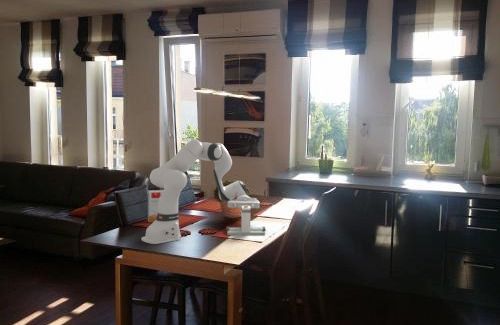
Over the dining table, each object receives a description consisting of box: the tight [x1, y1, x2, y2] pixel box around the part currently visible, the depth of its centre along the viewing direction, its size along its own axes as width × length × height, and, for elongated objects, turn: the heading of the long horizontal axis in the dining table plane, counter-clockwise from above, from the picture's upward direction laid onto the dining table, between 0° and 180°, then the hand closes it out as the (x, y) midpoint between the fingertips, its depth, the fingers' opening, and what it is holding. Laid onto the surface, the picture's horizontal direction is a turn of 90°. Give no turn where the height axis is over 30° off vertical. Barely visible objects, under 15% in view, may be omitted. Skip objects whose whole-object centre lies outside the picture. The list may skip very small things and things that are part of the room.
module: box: [240, 205, 252, 232], centre depth 257 cm, size 7×5×15 cm
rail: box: [226, 226, 266, 232], centre depth 258 cm, size 23×5×2 cm, turn 93°
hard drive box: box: [147, 189, 164, 223], centre depth 283 cm, size 16×8×20 cm, turn 105°
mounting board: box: [226, 230, 266, 236], centre depth 258 cm, size 22×10×2 cm, turn 93°
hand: (244, 206), depth 268 cm, fingers open, 8 cm apart
